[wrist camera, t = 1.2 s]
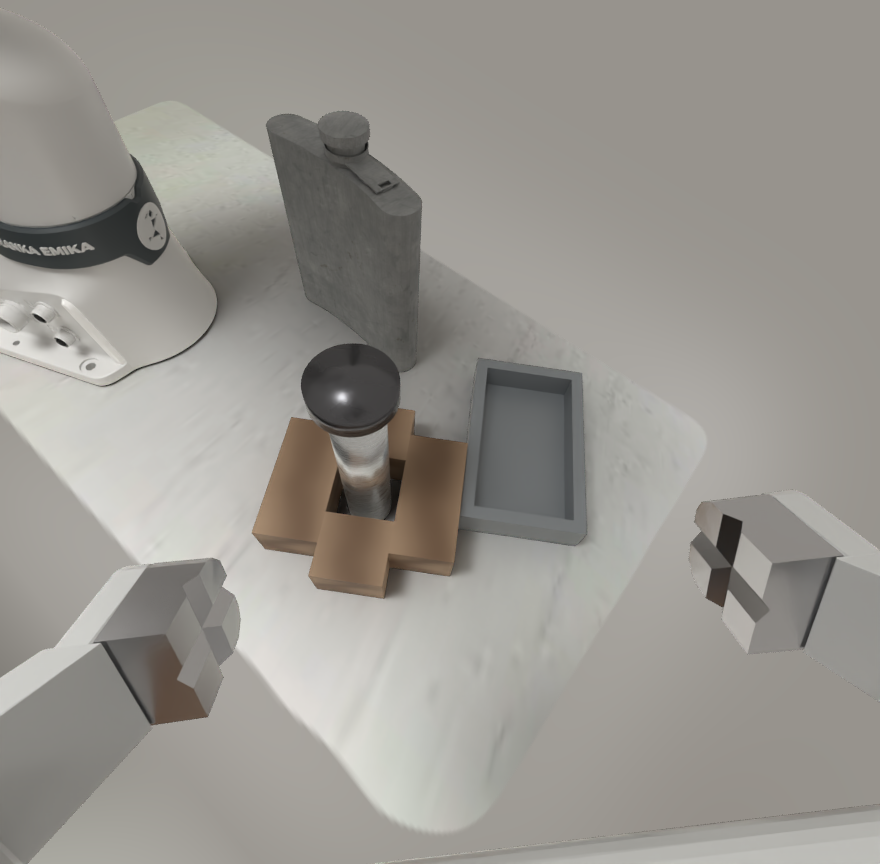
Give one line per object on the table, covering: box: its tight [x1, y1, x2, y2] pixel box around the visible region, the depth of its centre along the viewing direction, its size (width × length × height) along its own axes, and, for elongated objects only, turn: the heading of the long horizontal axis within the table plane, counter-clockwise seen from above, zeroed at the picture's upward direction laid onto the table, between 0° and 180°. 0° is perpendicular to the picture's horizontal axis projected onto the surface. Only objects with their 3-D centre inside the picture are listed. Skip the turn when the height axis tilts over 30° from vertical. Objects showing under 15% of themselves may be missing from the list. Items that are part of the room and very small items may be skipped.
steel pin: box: [301, 344, 400, 520], centre depth 33 cm, size 5×5×18 cm
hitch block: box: [252, 408, 468, 599], centre depth 39 cm, size 15×15×4 cm
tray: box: [458, 358, 587, 546], centre depth 43 cm, size 10×16×3 cm, turn 173°
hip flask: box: [266, 111, 422, 372], centre depth 42 cm, size 16×4×20 cm, turn 46°
